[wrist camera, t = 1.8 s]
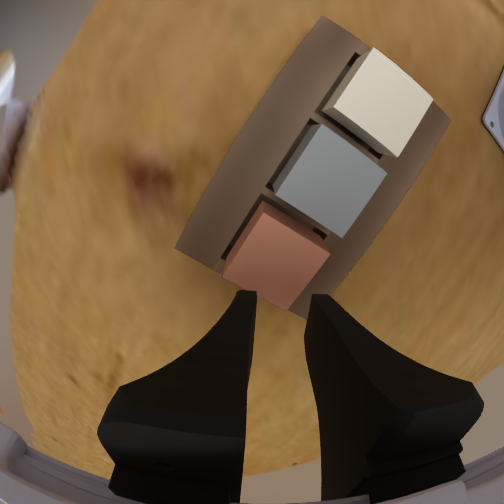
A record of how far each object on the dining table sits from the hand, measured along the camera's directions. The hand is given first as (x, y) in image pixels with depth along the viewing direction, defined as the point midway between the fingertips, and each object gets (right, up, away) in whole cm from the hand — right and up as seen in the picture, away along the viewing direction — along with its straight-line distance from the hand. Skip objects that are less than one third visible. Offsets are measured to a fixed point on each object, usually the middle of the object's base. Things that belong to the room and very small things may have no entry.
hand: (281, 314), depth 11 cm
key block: (+3, +8, +7) cm, 11 cm away
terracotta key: (0, +3, +6) cm, 7 cm away
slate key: (+3, +7, +5) cm, 9 cm away
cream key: (+5, +11, +3) cm, 12 cm away
